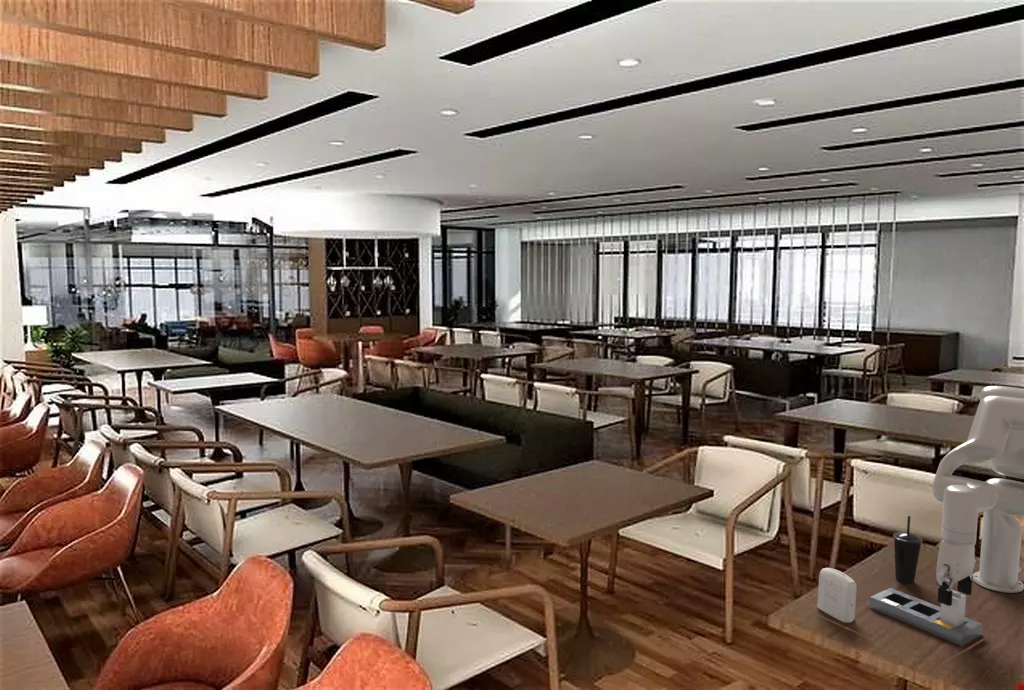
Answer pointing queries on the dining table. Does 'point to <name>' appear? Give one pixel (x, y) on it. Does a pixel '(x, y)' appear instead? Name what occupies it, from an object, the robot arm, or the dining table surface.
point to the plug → (954, 610)
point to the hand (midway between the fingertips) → (954, 598)
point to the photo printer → (837, 594)
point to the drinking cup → (906, 555)
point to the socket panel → (923, 616)
